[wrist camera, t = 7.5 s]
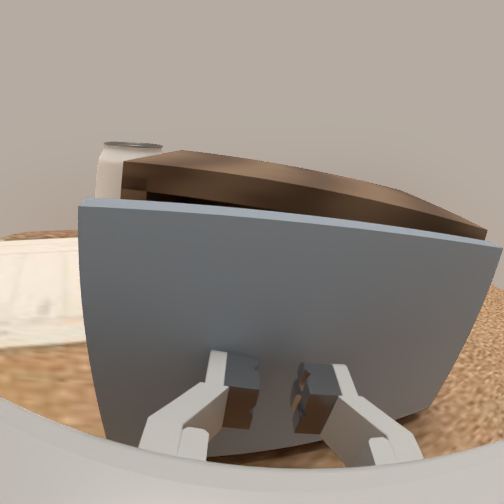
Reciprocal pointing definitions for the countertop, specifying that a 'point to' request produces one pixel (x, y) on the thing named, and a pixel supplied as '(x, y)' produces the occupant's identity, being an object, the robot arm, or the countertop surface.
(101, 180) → the can
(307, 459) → the countertop surface
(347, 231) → the flap
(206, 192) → the crate
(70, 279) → the countertop surface
